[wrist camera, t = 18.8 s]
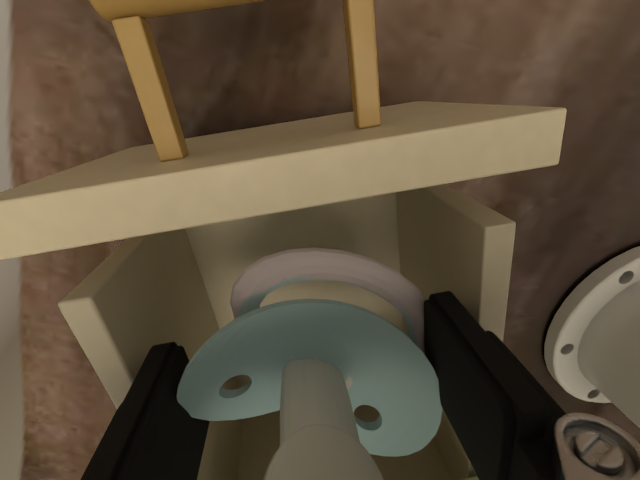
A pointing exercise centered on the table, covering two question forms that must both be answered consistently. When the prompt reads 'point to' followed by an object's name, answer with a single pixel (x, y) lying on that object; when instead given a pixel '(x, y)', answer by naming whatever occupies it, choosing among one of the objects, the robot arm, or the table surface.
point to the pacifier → (321, 367)
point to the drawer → (278, 222)
